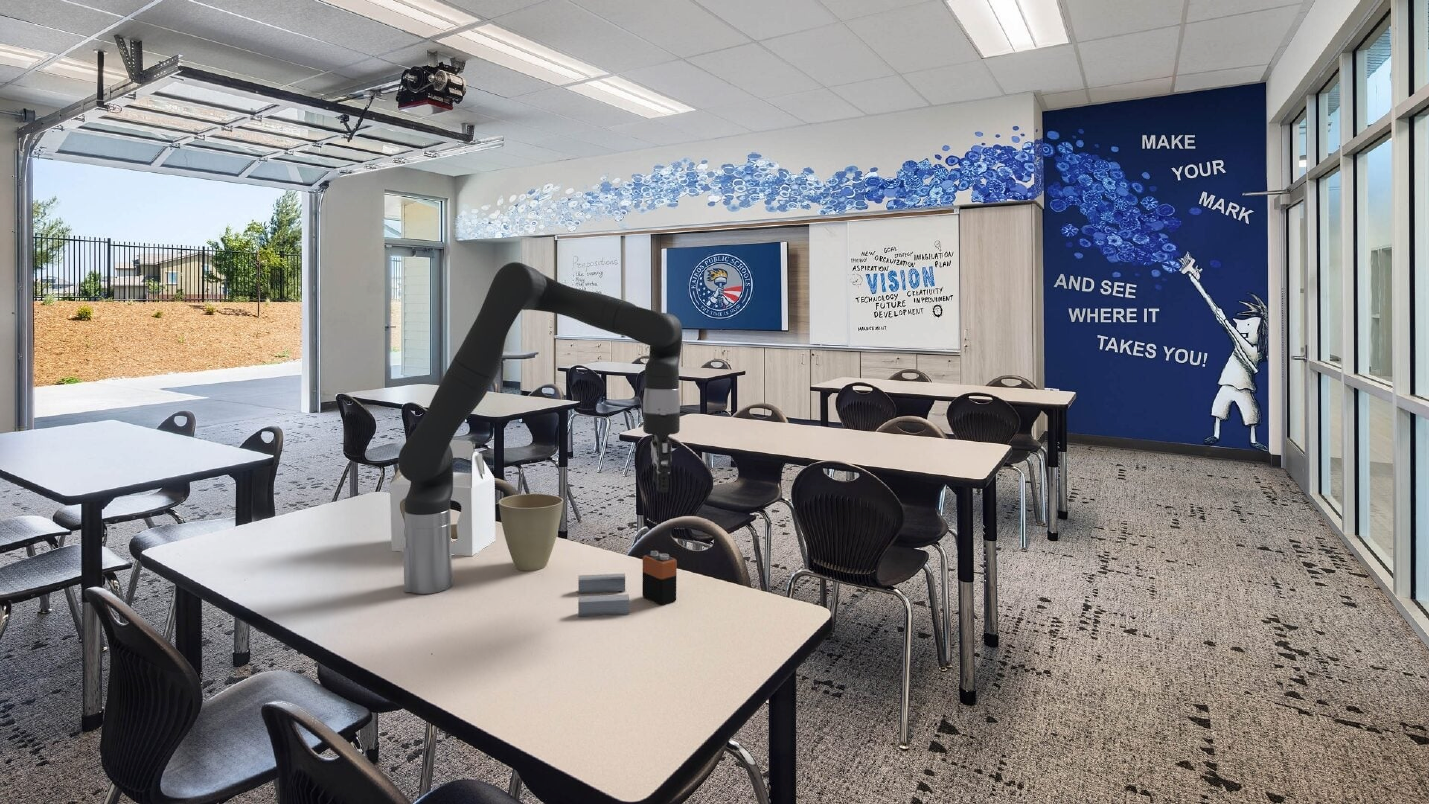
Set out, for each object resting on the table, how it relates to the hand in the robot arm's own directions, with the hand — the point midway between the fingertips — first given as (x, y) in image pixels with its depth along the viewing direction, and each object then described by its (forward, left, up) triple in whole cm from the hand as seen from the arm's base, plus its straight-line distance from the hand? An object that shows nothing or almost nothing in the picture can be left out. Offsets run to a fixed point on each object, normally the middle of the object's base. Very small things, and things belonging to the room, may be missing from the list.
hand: (660, 487), depth 157 cm
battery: (0, 0, -24) cm, 24 cm away
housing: (-12, 0, -24) cm, 27 cm away
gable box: (-51, +45, -24) cm, 72 cm away
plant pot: (-28, +26, -24) cm, 45 cm away
